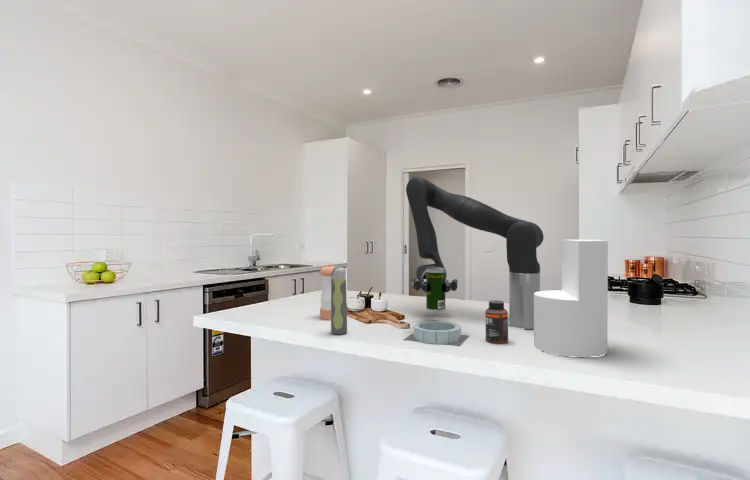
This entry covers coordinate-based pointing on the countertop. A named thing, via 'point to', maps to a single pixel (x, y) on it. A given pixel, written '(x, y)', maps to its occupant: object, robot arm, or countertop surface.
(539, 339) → the white stepped cylinder
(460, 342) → the mat
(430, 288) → the beer can
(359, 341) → the countertop surface
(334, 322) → the patterned grey bottle
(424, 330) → the bowl
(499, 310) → the supplement bottle
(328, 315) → the salt shaker
